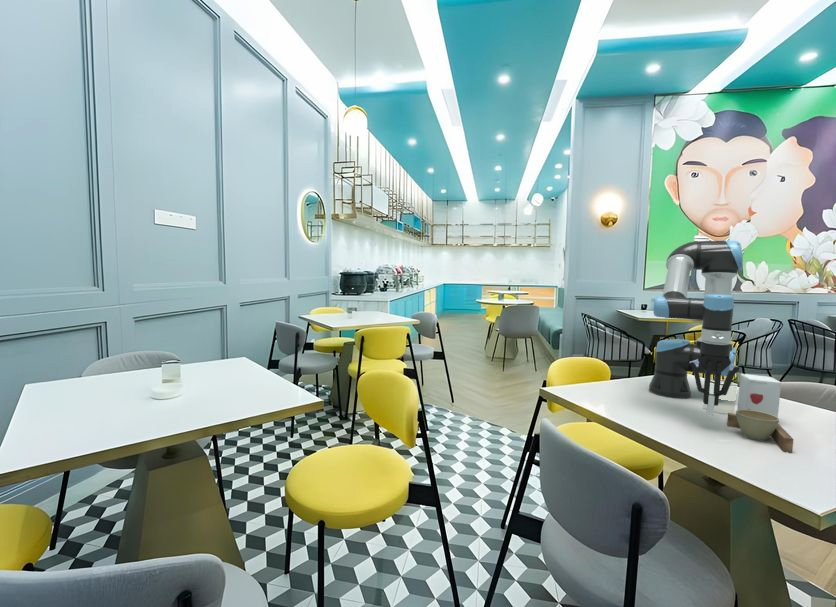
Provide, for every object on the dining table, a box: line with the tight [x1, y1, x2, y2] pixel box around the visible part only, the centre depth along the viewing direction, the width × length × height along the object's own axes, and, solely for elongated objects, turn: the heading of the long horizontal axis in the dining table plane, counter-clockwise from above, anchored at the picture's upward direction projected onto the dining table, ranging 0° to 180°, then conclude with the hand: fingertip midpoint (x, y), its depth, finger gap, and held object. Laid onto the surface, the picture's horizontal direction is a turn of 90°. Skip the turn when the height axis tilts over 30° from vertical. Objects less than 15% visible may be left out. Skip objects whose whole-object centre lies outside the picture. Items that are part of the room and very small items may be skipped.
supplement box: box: [736, 373, 782, 418], centre depth 137 cm, size 9×9×15 cm
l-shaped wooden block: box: [726, 412, 794, 454], centre depth 120 cm, size 12×18×4 cm, turn 149°
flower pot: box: [735, 409, 780, 442], centre depth 120 cm, size 10×10×7 cm
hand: (709, 414), depth 126 cm, fingers closed
